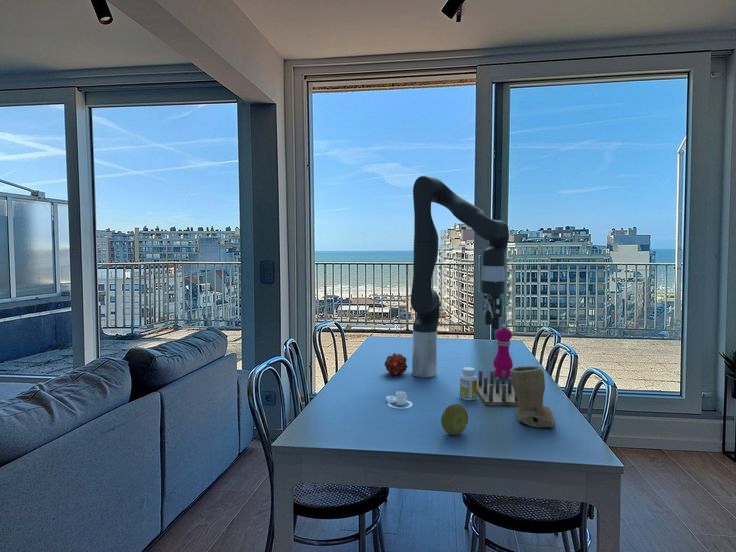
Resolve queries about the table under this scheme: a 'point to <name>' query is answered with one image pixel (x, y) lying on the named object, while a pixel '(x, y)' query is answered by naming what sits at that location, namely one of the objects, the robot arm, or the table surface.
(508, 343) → the pepper mill
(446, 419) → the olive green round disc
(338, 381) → the table surface
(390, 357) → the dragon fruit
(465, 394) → the supplement bottle
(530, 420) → the tan boot vase
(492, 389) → the drying rack
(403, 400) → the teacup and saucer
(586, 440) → the table surface
